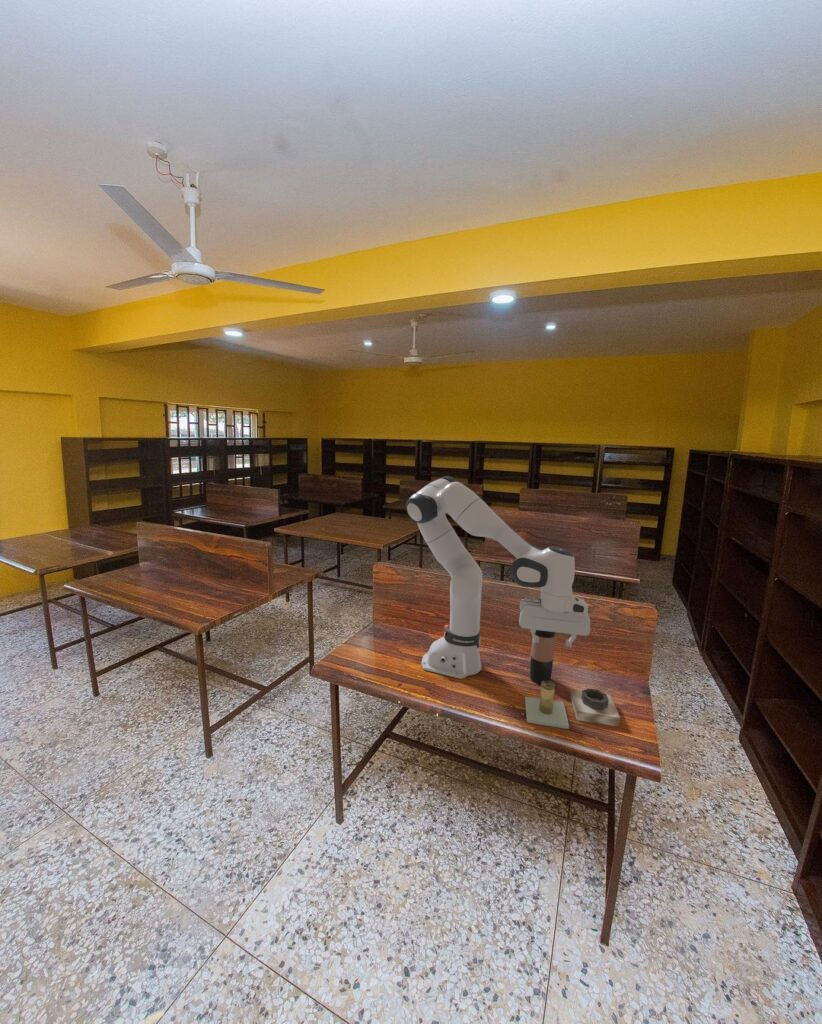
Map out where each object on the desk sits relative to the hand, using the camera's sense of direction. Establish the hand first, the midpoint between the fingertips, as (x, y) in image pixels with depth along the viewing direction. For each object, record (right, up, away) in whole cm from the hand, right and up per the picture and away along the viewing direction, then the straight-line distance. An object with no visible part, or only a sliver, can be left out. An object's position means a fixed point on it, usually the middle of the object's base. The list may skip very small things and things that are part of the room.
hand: (551, 644), depth 127 cm
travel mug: (+4, -20, +23) cm, 30 cm away
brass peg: (-1, -22, +3) cm, 22 cm away
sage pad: (-1, -23, +3) cm, 23 cm away
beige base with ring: (+15, -23, +5) cm, 28 cm away
